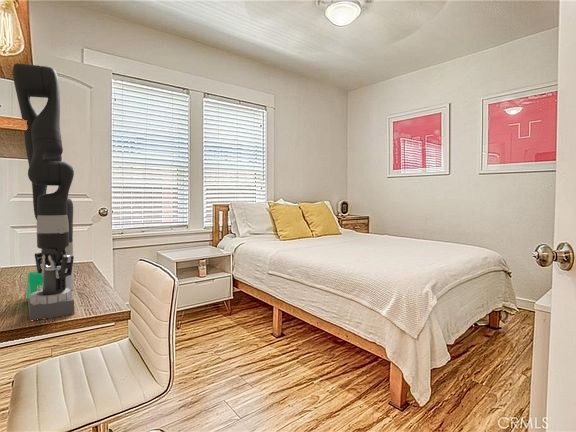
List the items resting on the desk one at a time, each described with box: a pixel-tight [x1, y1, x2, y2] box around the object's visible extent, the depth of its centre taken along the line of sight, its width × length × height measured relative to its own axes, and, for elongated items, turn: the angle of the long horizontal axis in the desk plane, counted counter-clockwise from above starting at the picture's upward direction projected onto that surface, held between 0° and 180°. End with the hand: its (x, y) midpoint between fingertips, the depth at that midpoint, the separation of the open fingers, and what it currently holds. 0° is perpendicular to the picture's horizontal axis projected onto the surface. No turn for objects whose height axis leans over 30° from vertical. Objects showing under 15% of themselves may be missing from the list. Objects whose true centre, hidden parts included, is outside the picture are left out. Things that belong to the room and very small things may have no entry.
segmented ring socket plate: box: [27, 288, 75, 322], centre depth 96 cm, size 10×10×6 cm
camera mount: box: [26, 271, 43, 300], centre depth 105 cm, size 12×8×10 cm, turn 44°
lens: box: [42, 266, 64, 296], centre depth 96 cm, size 5×5×8 cm
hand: (54, 289), depth 96 cm, fingers closed on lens, 5 cm apart
